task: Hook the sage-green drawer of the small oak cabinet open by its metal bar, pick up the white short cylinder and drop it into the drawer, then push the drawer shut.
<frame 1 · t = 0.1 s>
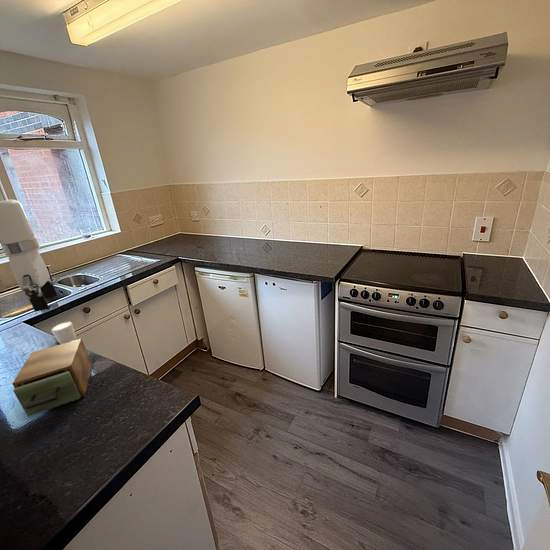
hand: (47, 303, 87), 25 cm above the countertop, tool pointing down, fingers open, 9 cm apart
white short cylinder: (68, 342, 117), on the countertop
drawer: (53, 383, 84), point 5 cm above the countertop, slide at 1.0 cm
cabinet: (64, 387, 90), on the countertop
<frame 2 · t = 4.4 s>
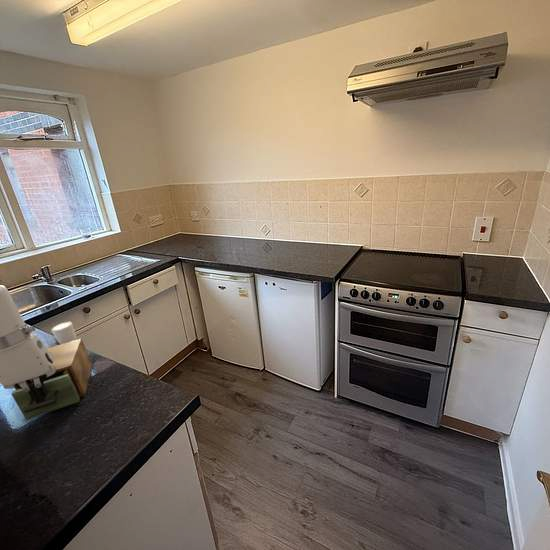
hand: (42, 398, 76), 7 cm above the countertop, tool pointing down, fingers closed
drawer: (51, 386, 83), point 5 cm above the countertop, slide at 2.3 cm, touching gripper
everything else where it was.
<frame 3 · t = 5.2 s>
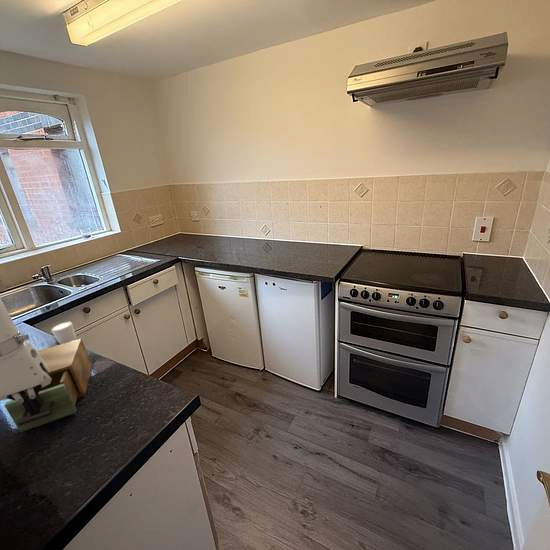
hand: (37, 409, 72), 7 cm above the countertop, tool pointing down, fingers closed
drawer: (47, 396, 79), point 5 cm above the countertop, slide at 6.6 cm, touching gripper
everything else where it was.
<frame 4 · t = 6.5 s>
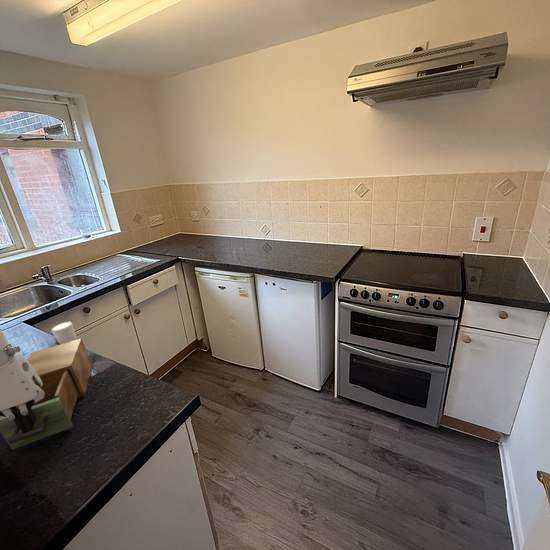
hand: (29, 426, 67), 7 cm above the countertop, tool pointing down, fingers closed
drawer: (41, 410, 74), point 5 cm above the countertop, slide at 12.0 cm, touching gripper
everything else where it was.
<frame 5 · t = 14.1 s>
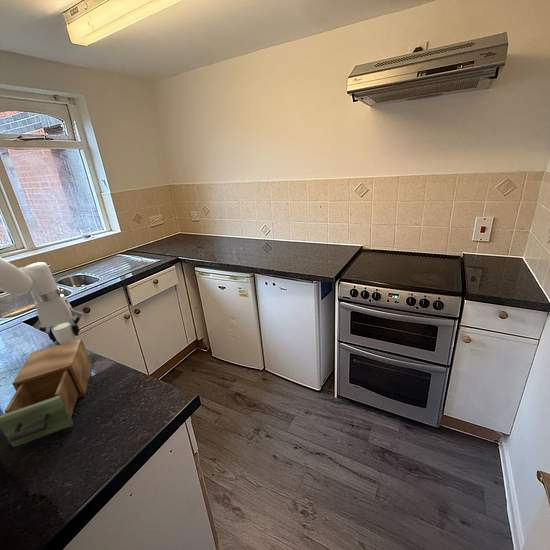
hand: (66, 336, 116), 2 cm above the countertop, tool pointing down, fingers closed on white short cylinder, 6 cm apart
white short cylinder: (68, 342, 117), on the countertop, touching gripper
drawer: (42, 408, 75), point 5 cm above the countertop, slide at 11.3 cm
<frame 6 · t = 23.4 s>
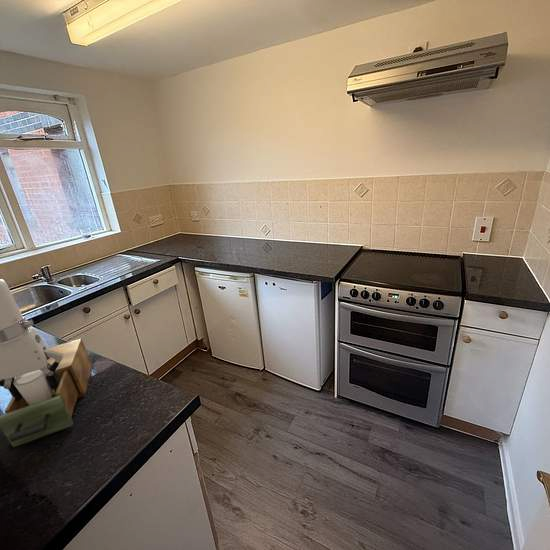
hand: (38, 390, 75), 9 cm above the countertop, tool pointing down, fingers closed on white short cylinder, 6 cm apart
white short cylinder: (42, 398, 76), point 7 cm above the countertop, touching gripper
drawer: (42, 408, 75), point 5 cm above the countertop, slide at 11.3 cm, touching gripper
when the fingers open (9 cm above the countertop, at t = 23.5 s): white short cylinder drops 5 cm, resting on drawer.
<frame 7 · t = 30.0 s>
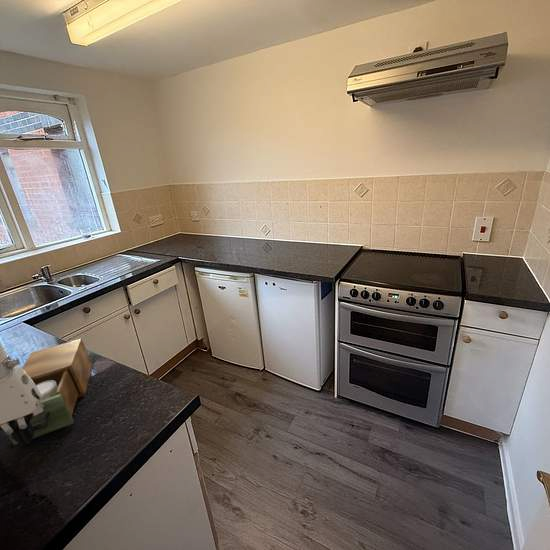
hand: (27, 439, 66), 6 cm above the countertop, tool pointing down, fingers closed
white short cylinder: (51, 410, 79), point 2 cm above the countertop, touching drawer
drawer: (43, 406, 75), point 5 cm above the countertop, slide at 10.7 cm, touching gripper, white short cylinder
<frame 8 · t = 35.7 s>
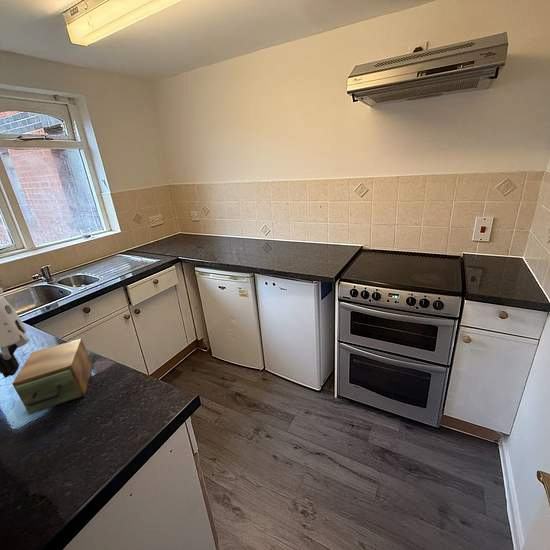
hand: (12, 372, 67), 19 cm above the countertop, tool pointing down, fingers closed
white short cylinder: (60, 385, 88), point 2 cm above the countertop, touching drawer
drawer: (53, 381, 85), point 5 cm above the countertop, slide at 0.0 cm, touching white short cylinder
at the end: drawer pulled out 12.0 cm at the most during the clip, back to where it started at the end; white short cylinder inside the target area in the cabinet (0.9 cm from its centre), point 1.8 cm above the cabinet's base; drawer slide at 0.0 cm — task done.
